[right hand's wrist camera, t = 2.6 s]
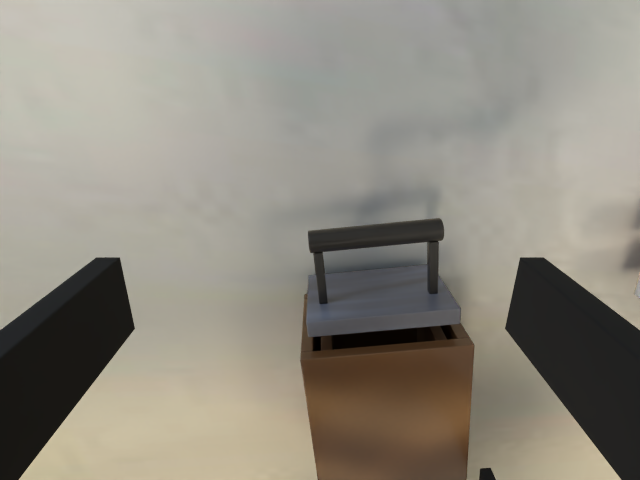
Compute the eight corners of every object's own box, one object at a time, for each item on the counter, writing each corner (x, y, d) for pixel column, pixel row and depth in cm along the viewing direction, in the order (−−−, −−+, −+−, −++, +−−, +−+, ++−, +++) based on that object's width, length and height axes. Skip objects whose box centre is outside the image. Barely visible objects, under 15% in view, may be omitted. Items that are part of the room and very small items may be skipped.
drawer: (300, 212, 29) (295, 246, 23) (432, 199, 29) (464, 230, 22) (327, 427, 37) (329, 496, 31) (430, 419, 37) (454, 487, 30)
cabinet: (304, 294, 33) (300, 360, 25) (435, 281, 32) (474, 345, 24) (324, 445, 39) (326, 536, 31) (433, 436, 39) (464, 526, 31)
